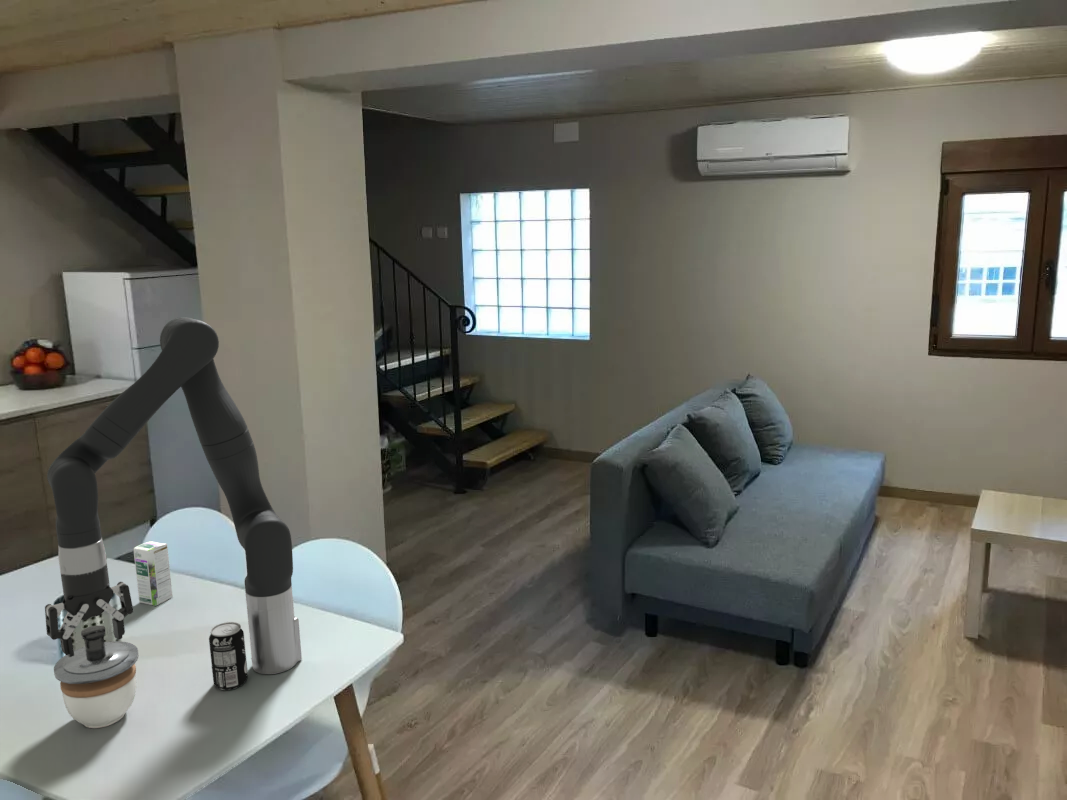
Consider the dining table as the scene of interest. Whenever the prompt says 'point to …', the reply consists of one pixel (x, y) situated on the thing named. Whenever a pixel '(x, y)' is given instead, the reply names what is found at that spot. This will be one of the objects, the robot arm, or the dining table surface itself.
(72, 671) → the steel lid
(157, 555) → the syrup box
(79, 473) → the robot arm
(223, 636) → the beverage can
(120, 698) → the lidded bowl
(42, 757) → the dining table surface
